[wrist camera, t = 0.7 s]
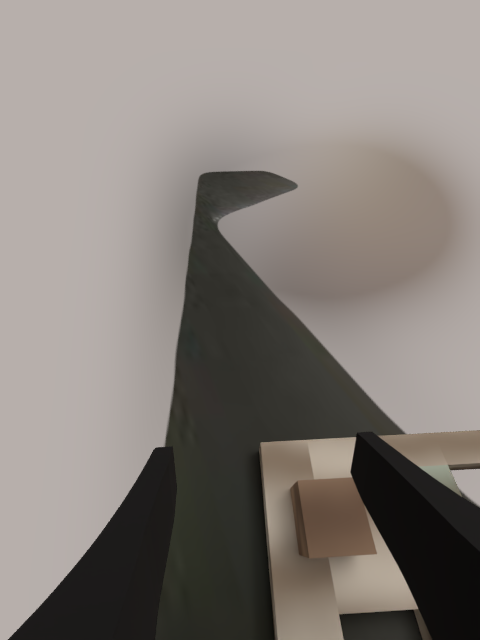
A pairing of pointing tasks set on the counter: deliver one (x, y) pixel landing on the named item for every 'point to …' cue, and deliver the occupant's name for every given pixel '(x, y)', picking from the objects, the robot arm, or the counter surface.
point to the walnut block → (330, 519)
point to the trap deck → (346, 571)
